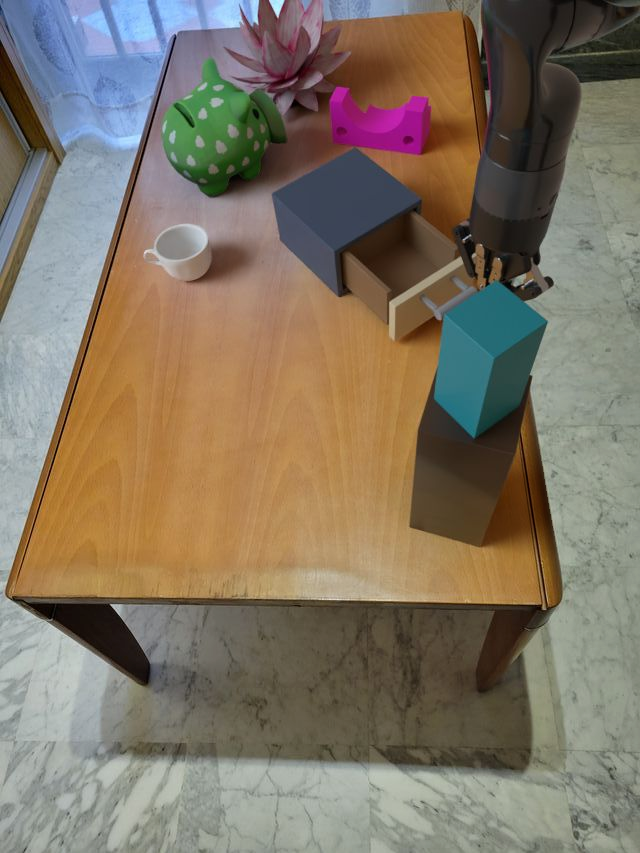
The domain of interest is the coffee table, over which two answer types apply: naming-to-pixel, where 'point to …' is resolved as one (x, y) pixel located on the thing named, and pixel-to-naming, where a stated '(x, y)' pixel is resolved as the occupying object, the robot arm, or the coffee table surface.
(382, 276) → the drawer
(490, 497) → the stand
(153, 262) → the teacup
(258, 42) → the decorative flower
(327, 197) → the cabinet
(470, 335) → the block
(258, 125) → the piggy bank
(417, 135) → the toy block
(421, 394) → the coffee table surface
